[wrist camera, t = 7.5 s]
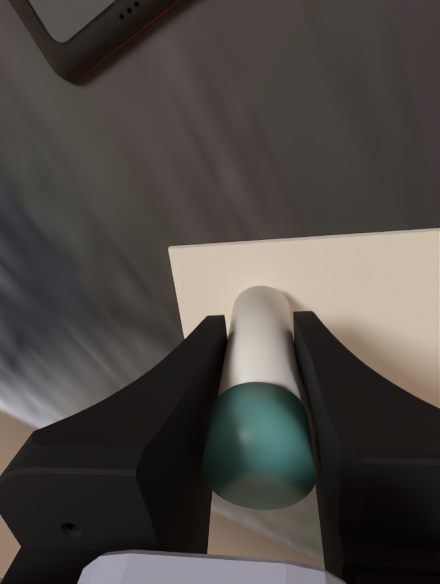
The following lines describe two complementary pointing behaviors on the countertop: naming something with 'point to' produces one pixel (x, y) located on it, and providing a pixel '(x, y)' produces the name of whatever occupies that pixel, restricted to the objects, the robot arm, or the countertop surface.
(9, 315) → the countertop surface
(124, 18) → the phone
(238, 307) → the marker
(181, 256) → the notepad
